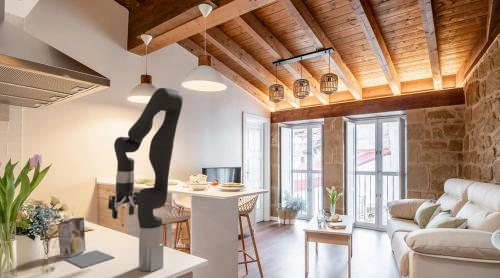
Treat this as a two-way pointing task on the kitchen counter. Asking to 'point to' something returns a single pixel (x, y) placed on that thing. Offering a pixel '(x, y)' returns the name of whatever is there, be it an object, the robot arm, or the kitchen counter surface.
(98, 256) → the mat
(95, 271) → the kitchen counter surface
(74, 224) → the coffee box
